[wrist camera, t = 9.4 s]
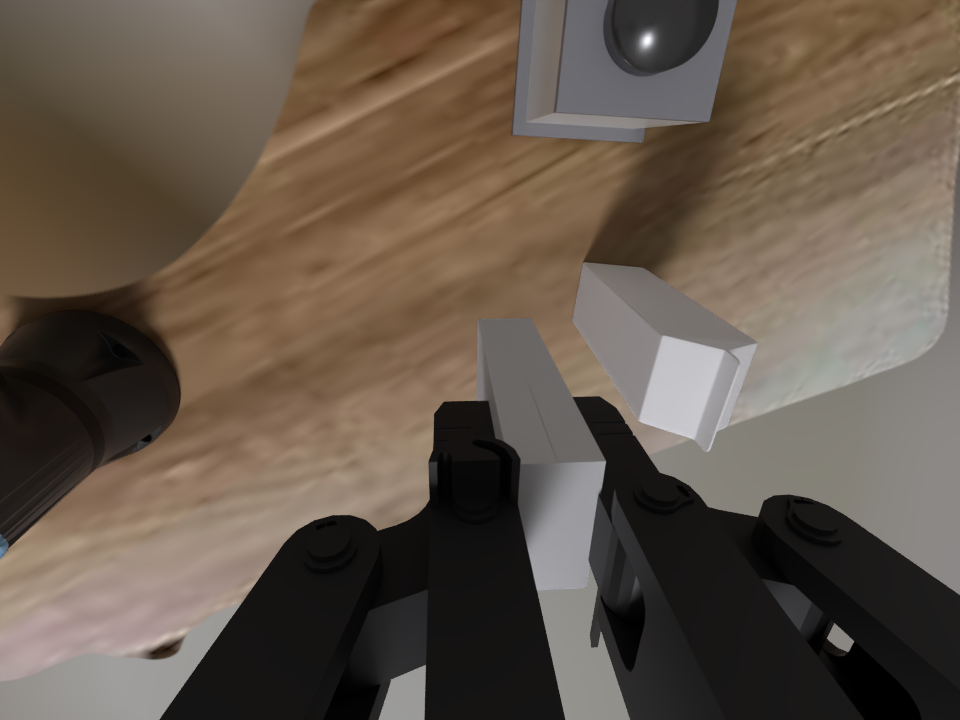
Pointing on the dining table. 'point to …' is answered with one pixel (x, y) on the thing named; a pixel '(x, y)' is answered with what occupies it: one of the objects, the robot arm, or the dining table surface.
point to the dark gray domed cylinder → (656, 33)
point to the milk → (662, 350)
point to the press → (603, 77)
